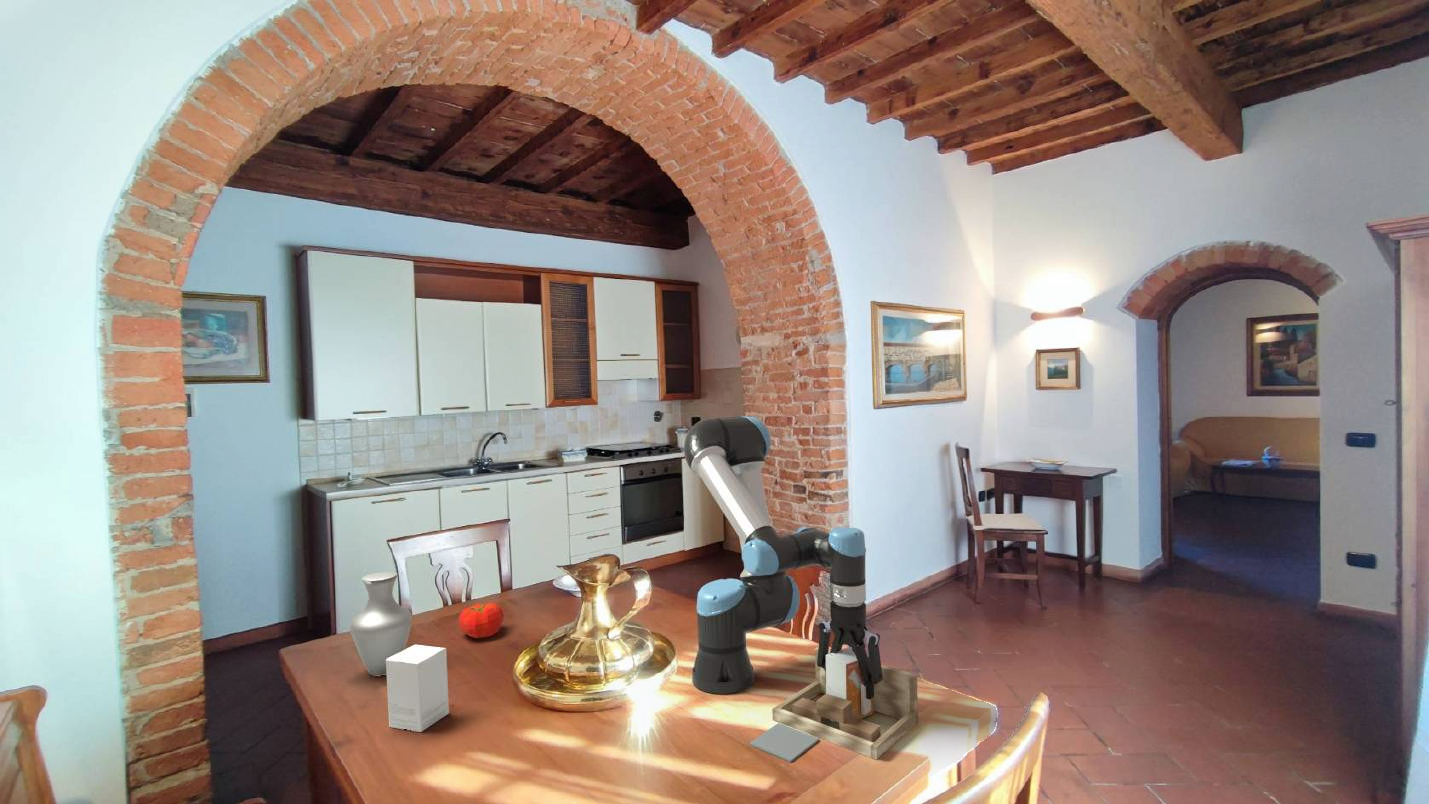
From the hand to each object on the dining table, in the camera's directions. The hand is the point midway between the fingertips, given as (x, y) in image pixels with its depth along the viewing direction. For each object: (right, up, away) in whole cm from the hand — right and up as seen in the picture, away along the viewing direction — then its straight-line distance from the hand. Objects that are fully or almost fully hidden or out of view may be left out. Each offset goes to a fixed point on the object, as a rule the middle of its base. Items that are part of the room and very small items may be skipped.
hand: (849, 706), depth 144 cm
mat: (-15, -3, -10) cm, 18 cm away
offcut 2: (-4, +1, -6) cm, 8 cm away
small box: (0, -2, 0) cm, 2 cm away
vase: (-115, -4, +30) cm, 119 cm away
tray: (-1, -2, -2) cm, 3 cm away
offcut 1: (-8, -2, -2) cm, 9 cm away
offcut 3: (0, -2, -10) cm, 10 cm away
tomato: (-98, -3, +53) cm, 111 cm away
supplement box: (-94, -5, +3) cm, 94 cm away
